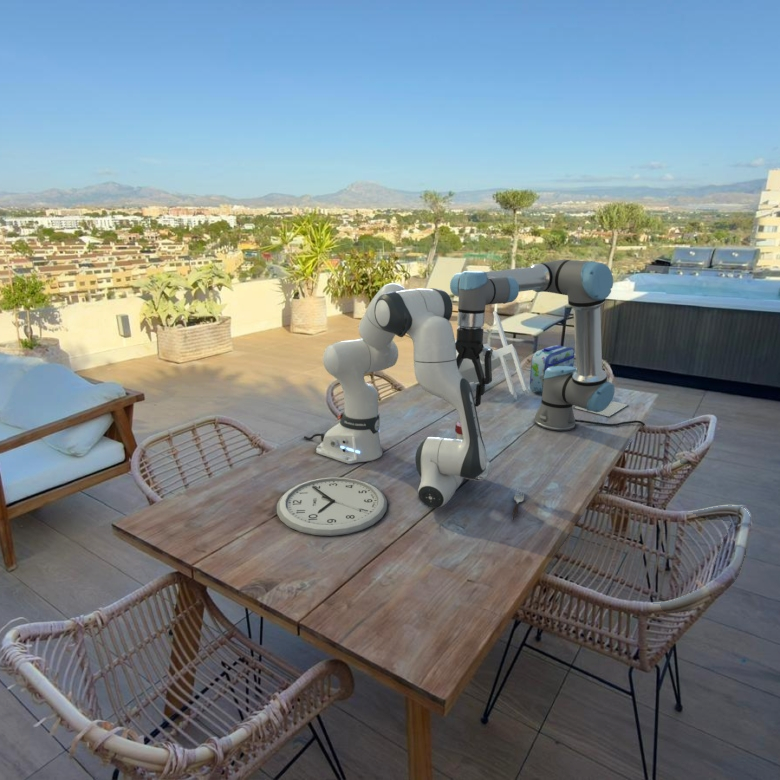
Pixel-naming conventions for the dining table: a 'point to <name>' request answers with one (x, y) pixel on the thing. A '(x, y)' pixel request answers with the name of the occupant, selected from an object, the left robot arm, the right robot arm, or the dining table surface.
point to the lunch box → (548, 363)
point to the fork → (517, 499)
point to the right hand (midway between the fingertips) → (465, 402)
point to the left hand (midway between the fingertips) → (462, 454)
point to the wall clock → (331, 506)
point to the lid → (458, 428)
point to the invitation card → (608, 408)
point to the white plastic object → (496, 362)
